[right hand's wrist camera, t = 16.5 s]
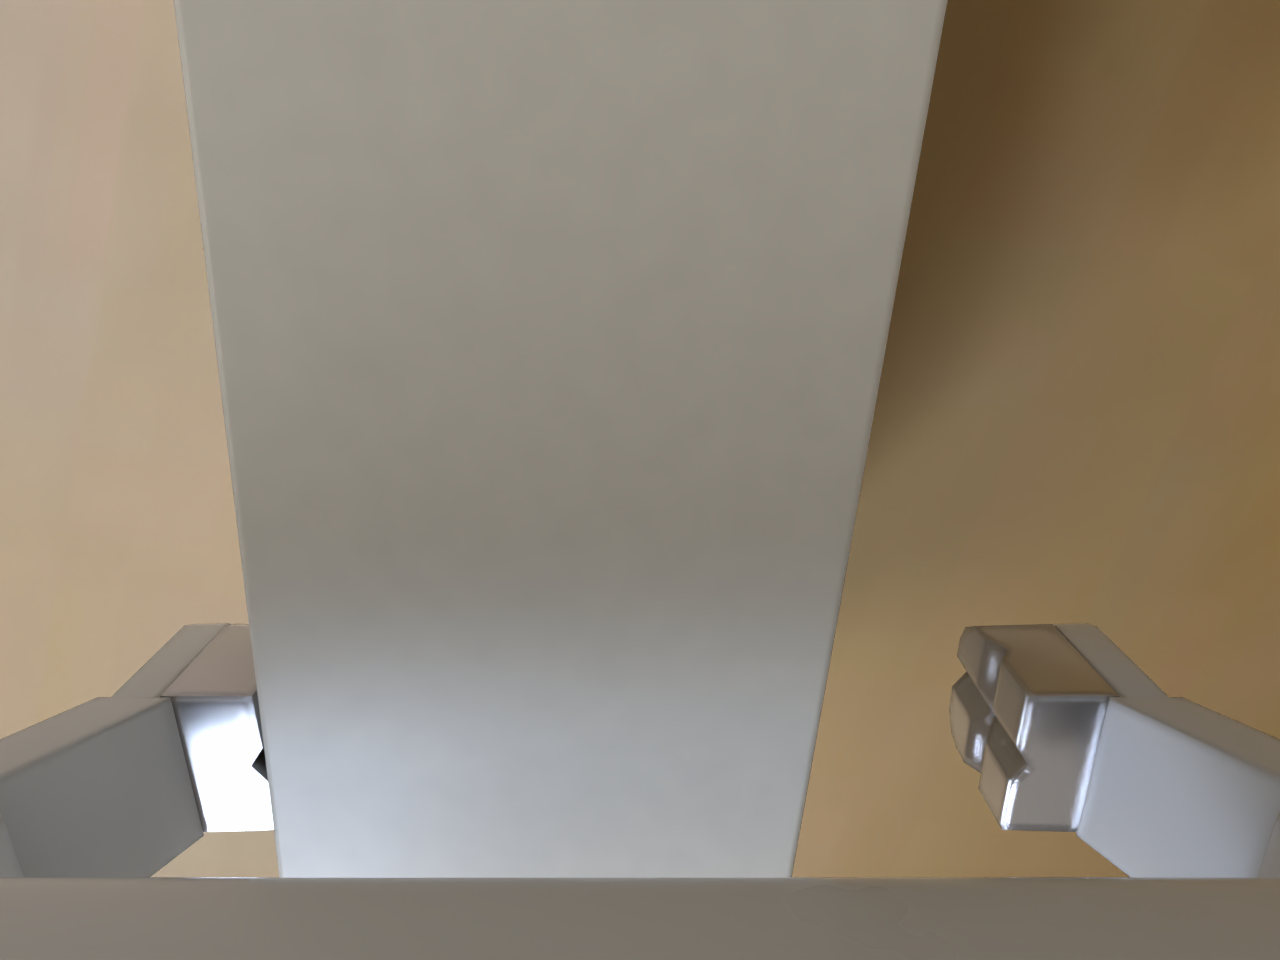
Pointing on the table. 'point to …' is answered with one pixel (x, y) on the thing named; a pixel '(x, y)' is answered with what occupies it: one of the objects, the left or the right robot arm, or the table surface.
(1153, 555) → the table surface
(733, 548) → the bar
